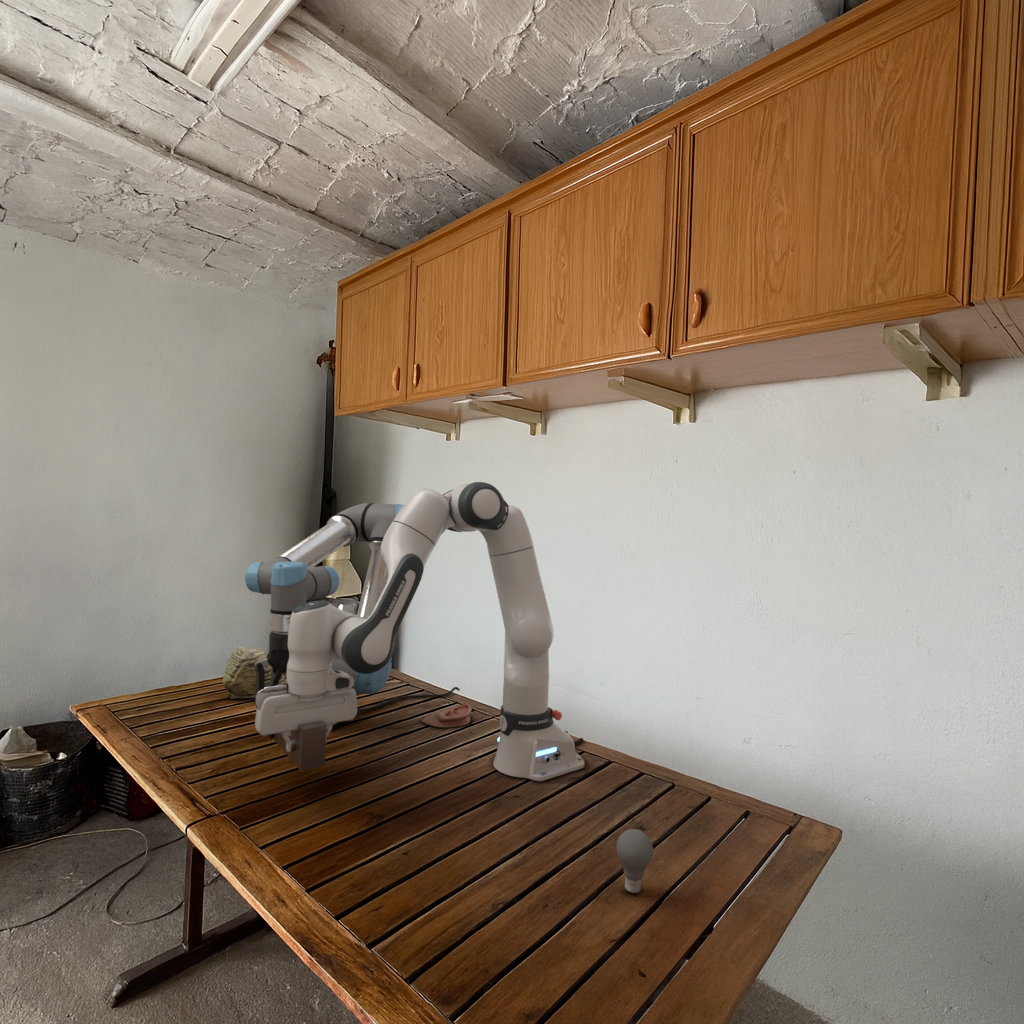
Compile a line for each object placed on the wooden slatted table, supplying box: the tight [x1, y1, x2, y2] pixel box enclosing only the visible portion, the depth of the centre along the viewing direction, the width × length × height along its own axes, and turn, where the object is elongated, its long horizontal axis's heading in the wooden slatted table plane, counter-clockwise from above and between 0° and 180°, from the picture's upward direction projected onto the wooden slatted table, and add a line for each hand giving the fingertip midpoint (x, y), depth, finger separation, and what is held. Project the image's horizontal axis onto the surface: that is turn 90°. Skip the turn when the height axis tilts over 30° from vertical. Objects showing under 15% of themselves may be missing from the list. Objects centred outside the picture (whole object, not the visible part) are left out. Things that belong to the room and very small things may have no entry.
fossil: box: [222, 646, 286, 699], centre depth 198 cm, size 9×18×15 cm, turn 132°
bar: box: [272, 721, 327, 772], centre depth 136 cm, size 24×5×8 cm, turn 36°
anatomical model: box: [421, 703, 472, 728], centre depth 182 cm, size 13×4×12 cm
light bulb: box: [615, 828, 654, 894], centre depth 106 cm, size 6×6×10 cm
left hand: (283, 733), depth 143 cm, fingers closed on bar, 5 cm apart
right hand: (306, 747), depth 130 cm, fingers closed on bar, 5 cm apart
